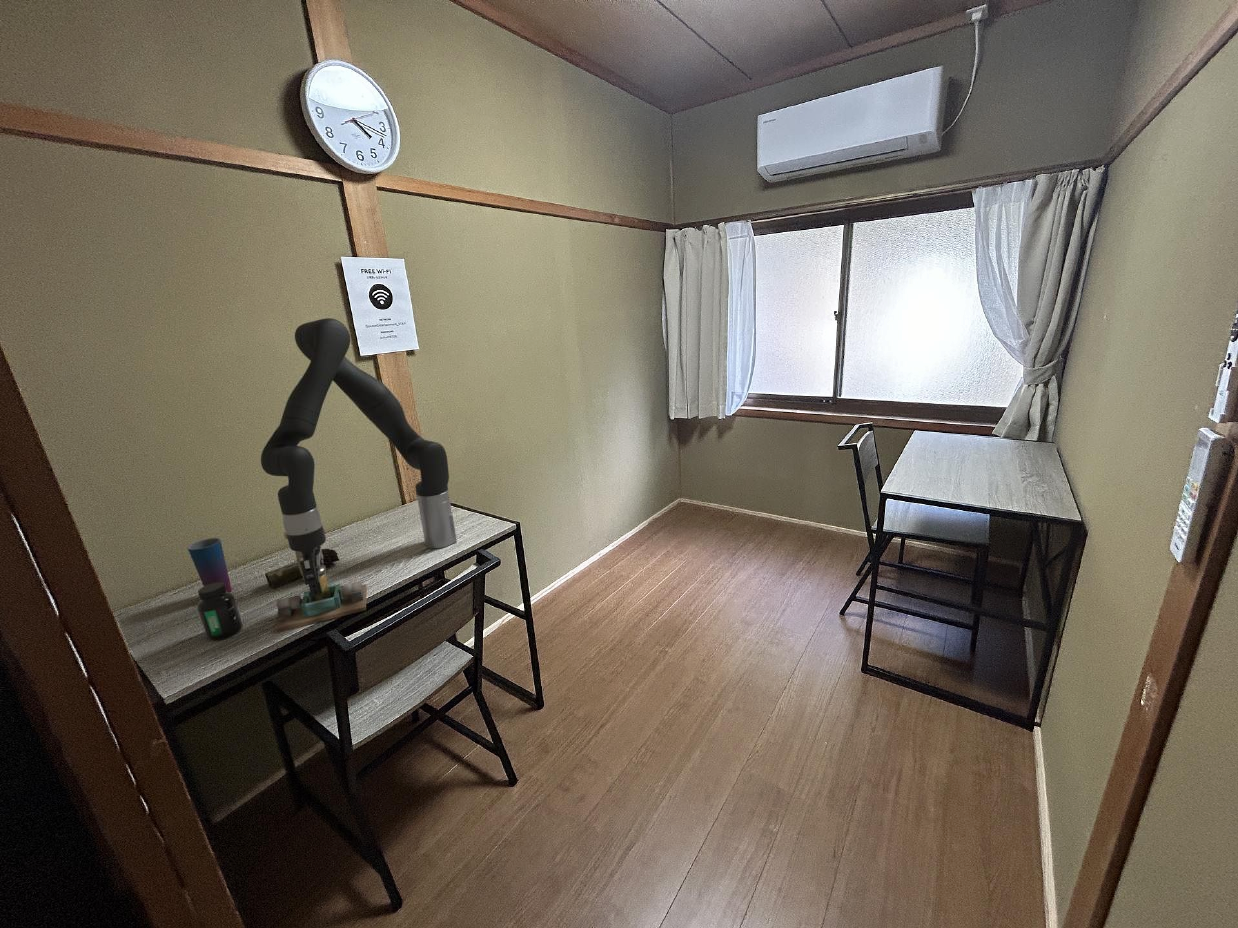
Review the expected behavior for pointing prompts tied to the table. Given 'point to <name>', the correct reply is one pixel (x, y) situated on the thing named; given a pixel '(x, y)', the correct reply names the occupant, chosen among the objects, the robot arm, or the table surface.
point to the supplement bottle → (218, 612)
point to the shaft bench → (321, 606)
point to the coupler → (322, 585)
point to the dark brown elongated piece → (297, 569)
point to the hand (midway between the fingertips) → (319, 586)
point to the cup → (210, 561)
